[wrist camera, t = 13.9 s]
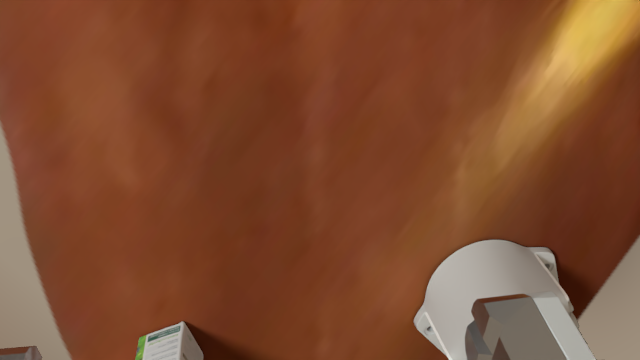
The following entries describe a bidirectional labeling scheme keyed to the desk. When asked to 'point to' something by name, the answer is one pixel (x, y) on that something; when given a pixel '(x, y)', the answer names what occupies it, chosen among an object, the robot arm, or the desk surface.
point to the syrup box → (169, 345)
